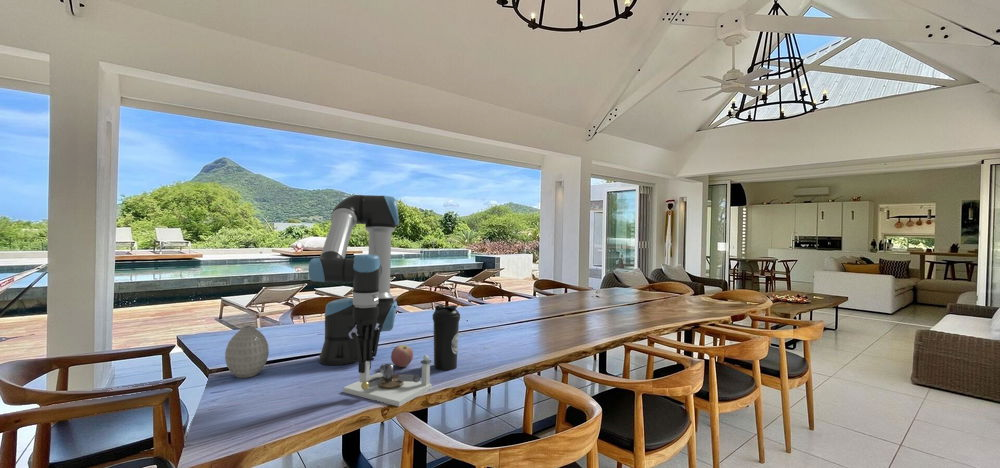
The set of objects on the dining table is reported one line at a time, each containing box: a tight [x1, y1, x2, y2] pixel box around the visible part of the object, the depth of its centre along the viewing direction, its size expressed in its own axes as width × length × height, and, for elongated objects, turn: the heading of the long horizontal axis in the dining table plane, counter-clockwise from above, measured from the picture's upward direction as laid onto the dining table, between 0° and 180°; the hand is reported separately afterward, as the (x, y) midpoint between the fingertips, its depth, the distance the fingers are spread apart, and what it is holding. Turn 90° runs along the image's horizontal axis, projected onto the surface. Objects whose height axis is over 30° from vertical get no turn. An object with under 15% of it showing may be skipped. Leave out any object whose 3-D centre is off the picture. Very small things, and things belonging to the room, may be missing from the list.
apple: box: [390, 344, 414, 368], centre depth 156 cm, size 8×8×8 cm
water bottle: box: [432, 304, 461, 372], centre depth 157 cm, size 10×10×23 cm
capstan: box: [361, 362, 421, 390], centre depth 131 cm, size 16×18×6 cm
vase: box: [224, 324, 270, 379], centre depth 144 cm, size 13×13×17 cm
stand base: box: [343, 355, 433, 408], centre depth 133 cm, size 22×16×11 cm
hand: (364, 381), depth 128 cm, fingers closed
